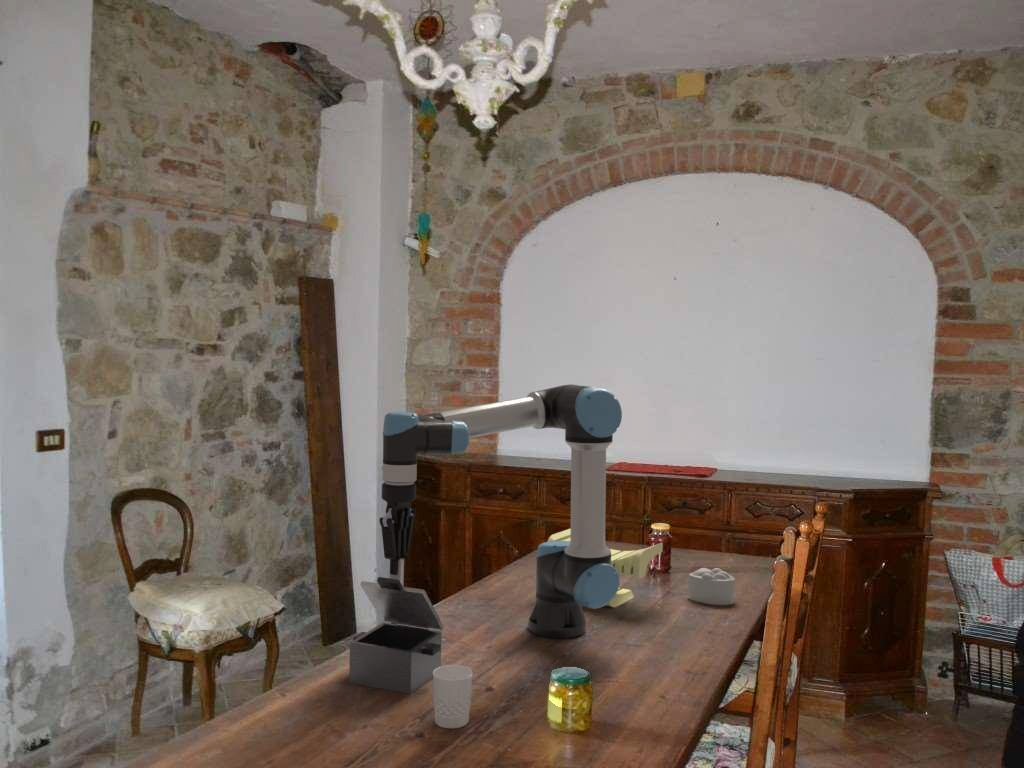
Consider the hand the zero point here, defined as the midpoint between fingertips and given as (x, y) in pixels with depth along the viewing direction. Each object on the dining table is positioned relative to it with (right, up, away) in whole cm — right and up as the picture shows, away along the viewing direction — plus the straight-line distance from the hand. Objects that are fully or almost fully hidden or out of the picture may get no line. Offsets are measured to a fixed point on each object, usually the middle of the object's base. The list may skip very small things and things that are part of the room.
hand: (396, 587), depth 198 cm
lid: (+1, -4, +2) cm, 5 cm away
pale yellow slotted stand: (+52, -18, +64) cm, 85 cm away
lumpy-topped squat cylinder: (+85, -19, +67) cm, 110 cm away
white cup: (+14, -22, -21) cm, 33 cm away
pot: (0, -20, +2) cm, 20 cm away
